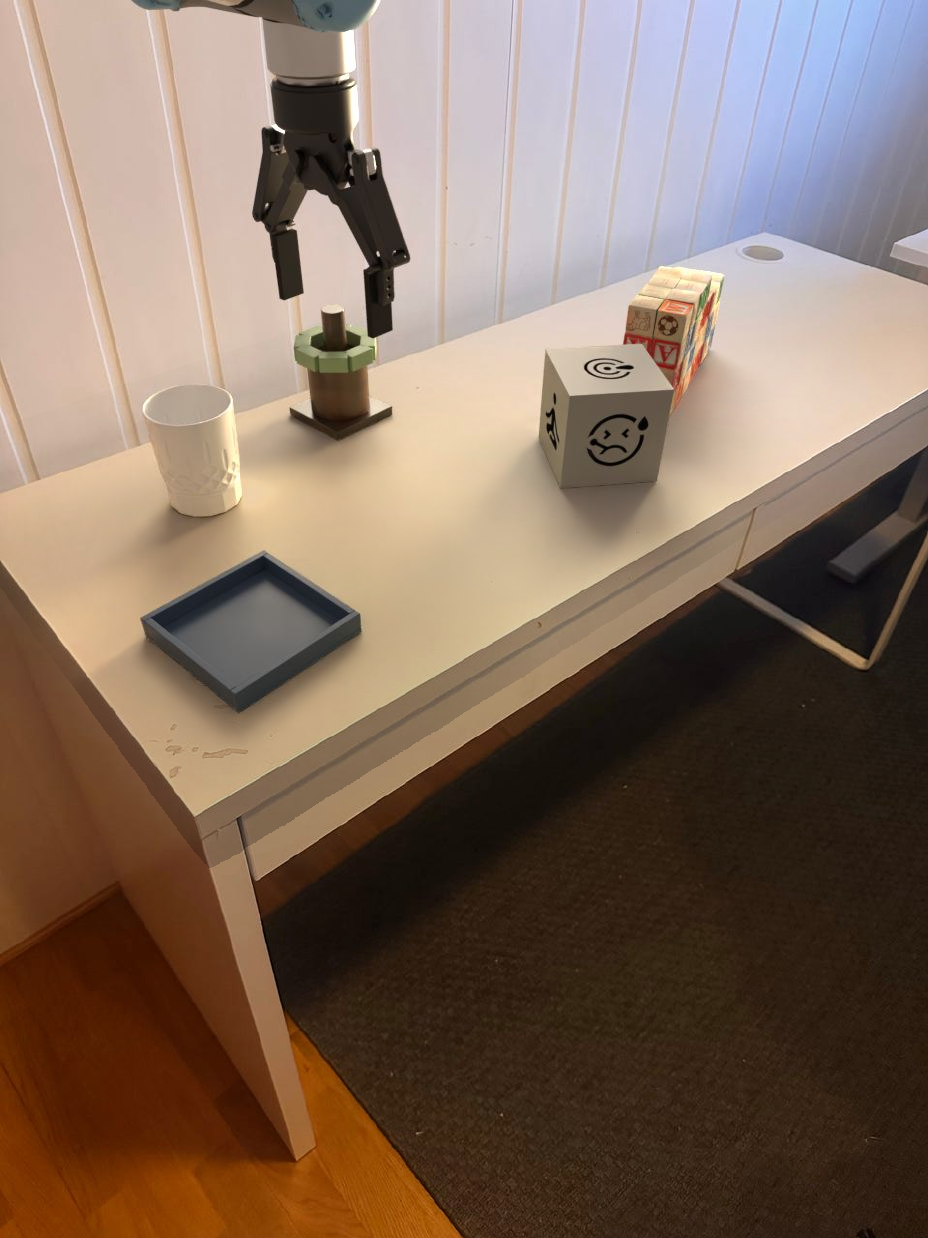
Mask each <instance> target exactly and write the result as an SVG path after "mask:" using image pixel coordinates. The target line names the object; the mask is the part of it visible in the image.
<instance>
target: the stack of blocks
mask: <svg viewBox="0 0 928 1238" xmlns="http://www.w3.org/2000/svg"><path fill="white" fill-rule="evenodd" d="M725 276H726V275H725V274H723V273H718V272H711V271H706V270H698V269H693V268H687V267H680V266H675V267H674V268H673V267H669V266H663V265H660V266H659V267H658V268H657V270H656V271H655V272H654V273H653V275H652V277H651V278H650V280H648V282H647V284H645V285H644V286H643V287H642V288H641V290H639V292H638V294H636V295H635V297H634V298H633V299H632V300H631V301H630V303H629V304H628V306H627V307H628V308H627V315H626V321H625V322H626V323H625V332H624V336H623V342H622V345H627V344H642V345H643V346H644V348H645V349H646V350H647V352H648V353H649V355H650V356H651V357H652V359H653V360H654V362H655V363H656V365H657V366H658V367H659V369H660V370H661V372H662V373H663V374H664V376H665V377H666V379H667V380H668V381H669V383H670V384H671V386H672V387H673V388H674V393H673V398H672V404H671V409H670V415H669V417H670V416H671V415H672V413H673V411H674V410H675V409H676V407H677V406H678V404H679V403H680V401H681V399H682V397H683V396H684V395H685V393H686V391H687V390H688V387H689V385H690V382H691V381H692V379H693V377H694V375H695V373H696V371H697V370H698V368H699V366H701V365H702V363H703V361H704V360H705V358H706V356H707V355H708V353H709V351H710V349H711V348H712V344H713V339H714V334H715V329H716V324H717V320H718V315H719V311H720V305H721V296H722V290H723V285H724V281H725Z"/></svg>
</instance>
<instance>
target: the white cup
mask: <svg viewBox="0 0 928 1238" xmlns="http://www.w3.org/2000/svg"><path fill="white" fill-rule="evenodd" d="M234 408H235V407H234V401H233V397H232V395H231V393H229V392H228V391H227V390H225V389H223V388H221V387H219V386H216V385H213V384H205V383H186V384H179V385H173V386H170V387H167V388H163V389H162V390H158V391H157V392H155V393H153V394H151V395H150V396H149V397H148V398H146V399H145V401H144V402H143V403H142V405H141V414H142V417H143V420H144V423H145V426H146V431H147V433H148V437H149V440H150V444H151V447H152V451H153V455H154V457H155V459H156V462H157V467H158V470H159V473H160V475H161V479H162V480H163V482H164V485H165V488H166V491H167V494H168V499H169V501H170V505H171V507H172V508H173V509H174V510H176V511H177V512H178V513H179V514H182V515H185V516H188V517H189V516H190V517H192V518H200V517H201V518H204V517H205V518H206V517H213V516H217V515H219V514H223V513H226V512H228V511H229V510H231V509H232V508H234V507H236V506H237V505H238V503H239V502H240V500H241V498H242V497H243V490H242V482H241V473H240V470H241V465H240V452H239V451H240V449H239V442H238V433H237V425H236V418H235V417H236V416H235V409H234Z"/></svg>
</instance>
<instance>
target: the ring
mask: <svg viewBox="0 0 928 1238" xmlns="http://www.w3.org/2000/svg"><path fill="white" fill-rule="evenodd" d="M345 324H346V337H347V344H349V345H351V346H353V347H354V348H352V349H350V350H347V351H345V352H323V351H320V350H318V348H320V347H322V346H324V340H323V329H322V325H320V324H318V325H317V326H314V327H311V328H309V329H305V330H303V331H300V332H299V333H298V334H297V335H295V339H294V344H293V355H294V361H295V362H296V364H297V365H299V366H301V367H304V368H306V370H307V369H310V370H312V371H314V372H316V371H320V373H348V369H349V370H351V371H356V370H358V369H360V368H362V367H365V366H367V367H368V366H369V365H372V364H374V361H377V347H378V346H377V337H376V338H370V337H368V334H367V328H363V327H361V326H359V325H356V324H355V325H352V324H350V323H348V324H347V323H345Z"/></svg>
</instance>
